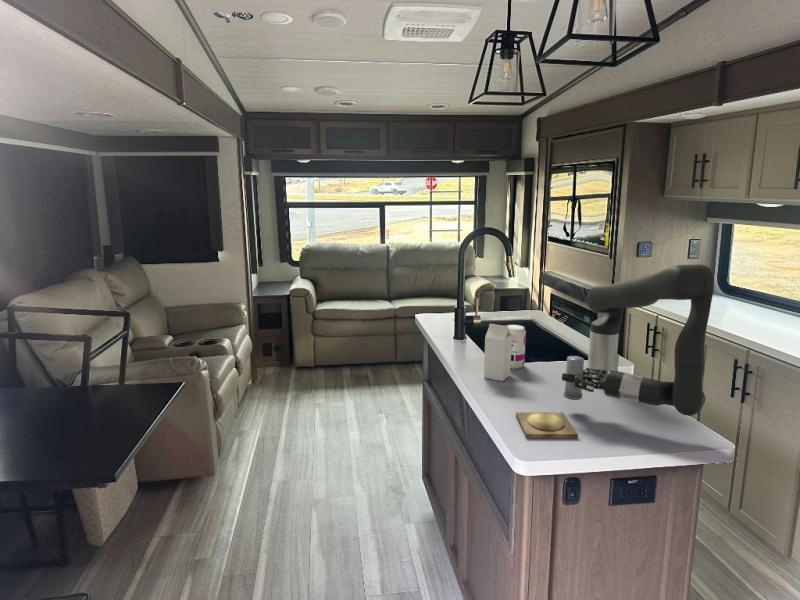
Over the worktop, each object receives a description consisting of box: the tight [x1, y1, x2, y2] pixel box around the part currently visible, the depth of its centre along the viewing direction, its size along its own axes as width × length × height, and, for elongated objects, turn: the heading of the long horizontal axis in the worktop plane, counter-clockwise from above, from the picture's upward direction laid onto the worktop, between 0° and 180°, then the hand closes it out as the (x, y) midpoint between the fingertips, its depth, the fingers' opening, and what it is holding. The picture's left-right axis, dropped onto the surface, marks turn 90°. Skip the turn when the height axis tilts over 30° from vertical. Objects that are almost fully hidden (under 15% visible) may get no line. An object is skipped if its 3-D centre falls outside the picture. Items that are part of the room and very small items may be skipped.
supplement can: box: [506, 324, 527, 370], centre depth 203 cm, size 8×8×15 cm
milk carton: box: [483, 323, 512, 382], centre depth 191 cm, size 7×7×19 cm
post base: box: [515, 411, 579, 439], centre depth 154 cm, size 14×14×2 cm
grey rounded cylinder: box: [563, 355, 585, 401], centre depth 163 cm, size 5×5×12 cm
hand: (565, 373), depth 164 cm, fingers closed on grey rounded cylinder, 4 cm apart
